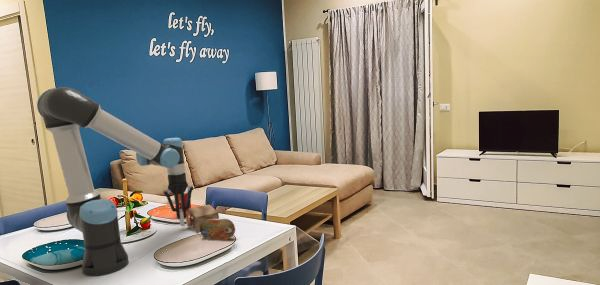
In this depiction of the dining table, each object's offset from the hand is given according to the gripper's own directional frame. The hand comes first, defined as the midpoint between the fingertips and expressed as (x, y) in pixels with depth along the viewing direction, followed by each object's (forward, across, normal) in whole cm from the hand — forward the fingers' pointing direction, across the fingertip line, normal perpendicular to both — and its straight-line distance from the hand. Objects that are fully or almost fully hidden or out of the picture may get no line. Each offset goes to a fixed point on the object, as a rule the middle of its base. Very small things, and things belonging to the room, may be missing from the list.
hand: (182, 225), depth 182 cm
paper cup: (+2, -5, -19) cm, 20 cm away
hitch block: (+2, -10, 0) cm, 10 cm away
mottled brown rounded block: (+2, -10, +21) cm, 24 cm away
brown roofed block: (+1, -9, 0) cm, 9 cm away
